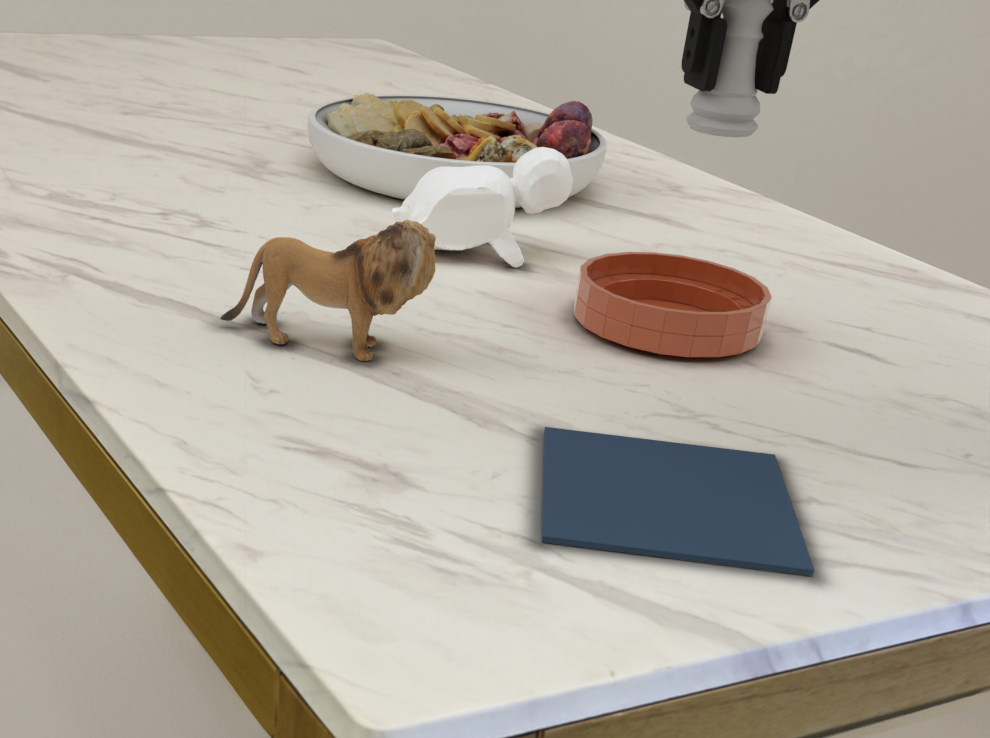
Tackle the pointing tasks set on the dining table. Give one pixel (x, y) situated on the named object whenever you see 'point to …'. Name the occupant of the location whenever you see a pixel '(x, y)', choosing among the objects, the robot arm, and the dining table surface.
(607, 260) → the terracotta bowl
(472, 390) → the dining table surface
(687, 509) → the dark blue square mat
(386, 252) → the lion figurine
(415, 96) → the bowl
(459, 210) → the white animal figurine
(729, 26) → the rook chess piece
